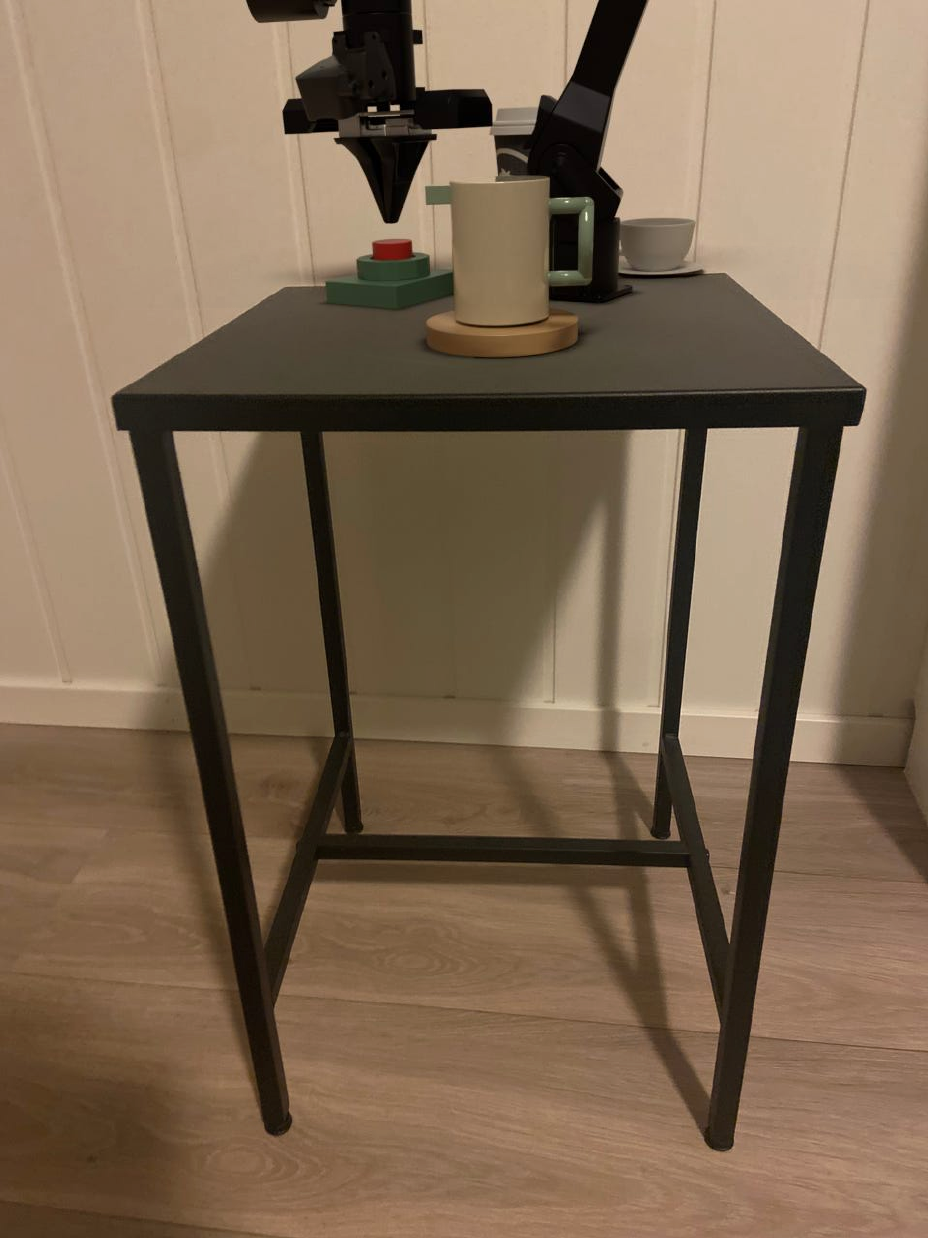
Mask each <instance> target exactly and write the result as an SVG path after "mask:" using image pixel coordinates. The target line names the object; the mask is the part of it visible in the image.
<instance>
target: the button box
mask: <svg viewBox="0 0 928 1238" xmlns="http://www.w3.org/2000/svg"><path fill="white" fill-rule="evenodd" d="M355 262H356V273H355V274H351V275H346V276H343V277H342V276H341V277H338V278H333V279H330V280H325V291H326V300H327V301H326V303H328V304H339V305H350V306H361V307H371V308H384V309H393V310H398V309H403V308H406V307H410V306H413V305H415V304H416V305H417V304H420V303H423V302H427V301H431V300H433V299H438V298H440V297H445V296H448V295H451V294H454V285H453V268H451V269H449V268H437V267H436V268H435V267H431V260H430V254H428V253H423V252H415V251H414V252H413V258H409V259H400V260H373V253H372V254H371V253H370V254H365V255H361V256H359V257H358V258H356V260H355Z"/></svg>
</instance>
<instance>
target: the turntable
mask: <svg viewBox="0 0 928 1238" xmlns="http://www.w3.org/2000/svg"><path fill="white" fill-rule="evenodd" d="M425 332H426V333H425V334H426V335H425V336H426V345H427V346H428V347H429V348H430V349H432V350H434V351H436V352H439V353H442V354H449V355H452V356H453V355H454V356H461V357H472V358H494V359H495V358H518V357H529V356H536V355H537V356H538V355H543V354H549V353H554V352H557V351H562V350H564V349H568V348H570V347H572V346H574V345H575V344H576V343H577V341H578V340H579V317H578V315H576V314H575V313H573V312H571V311H568V310H564V309H560V308H555V307H549V316H548V317H547V318H545V319H543V320H540V321H536V322H532V323H526V324H518V325H502V326H488V325H474V324H467V323H463V322H460V321H457V320H456V319H455V311H454V310H450V311H445V312H442V313H439V314H436V315H433V316H431V317H429V318H428V319H427V320H426V321H425Z"/></svg>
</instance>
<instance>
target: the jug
mask: <svg viewBox="0 0 928 1238" xmlns="http://www.w3.org/2000/svg"><path fill="white" fill-rule="evenodd" d="M424 191H425V192H424V193H425V205H426V206H434V205H435V206H436V205H450V228H451V229H450V231H451V232H450V233H451V257H452V269H453V285H454V293H453V304H454V305H453V306H454V310H453V311H455V319H456V320H457V321H460V322H463V323H467V324H474V325H488V326H502V325H518V324H526V323H532V322H536V321H540V320H543V319H545V318H547V317H548V316H549V308H550V298H549V288H550V287H553V286H578V285H588V284H589V283H590V282H591V280H592V261H593V225H594V202H593V200H592V199H591V198H589V197H575V198H550V178H549V177H546V176H498V175H496V176H495V175H494V176H493V175H492V176H477V177H465V178H455V179H452V180H450V181H449V182H447V183H446V182H443V183H427V184H426V185H425V186H424ZM575 213H579V242H578V270H575V271H549V249H550V214H575Z"/></svg>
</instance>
